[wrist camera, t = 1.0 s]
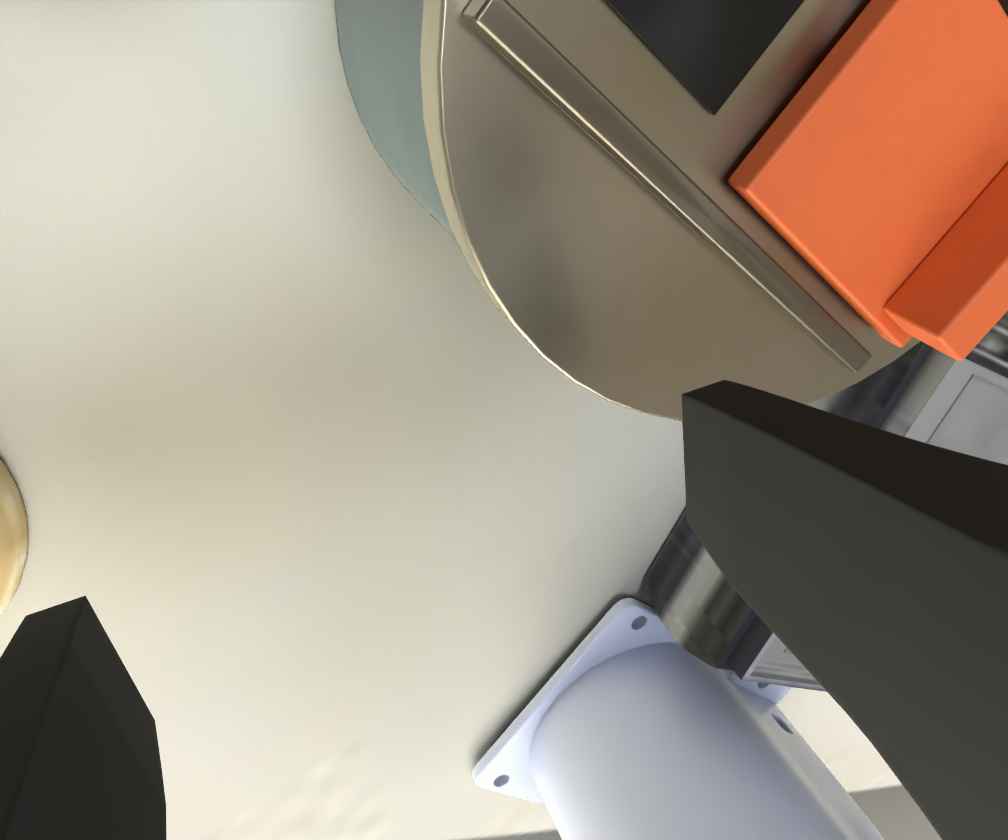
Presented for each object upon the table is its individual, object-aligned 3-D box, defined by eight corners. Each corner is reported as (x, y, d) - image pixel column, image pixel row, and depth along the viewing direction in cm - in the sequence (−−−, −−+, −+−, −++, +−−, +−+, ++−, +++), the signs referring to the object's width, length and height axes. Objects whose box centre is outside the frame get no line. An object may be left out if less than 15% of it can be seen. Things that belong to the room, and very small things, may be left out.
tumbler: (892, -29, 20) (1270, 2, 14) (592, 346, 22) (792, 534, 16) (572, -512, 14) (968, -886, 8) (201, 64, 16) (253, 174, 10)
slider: (1056, 136, 14) (1158, 162, 13) (881, 337, 15) (959, 382, 13) (927, -74, 11) (1038, -72, 10) (724, 180, 12) (800, 215, 11)
